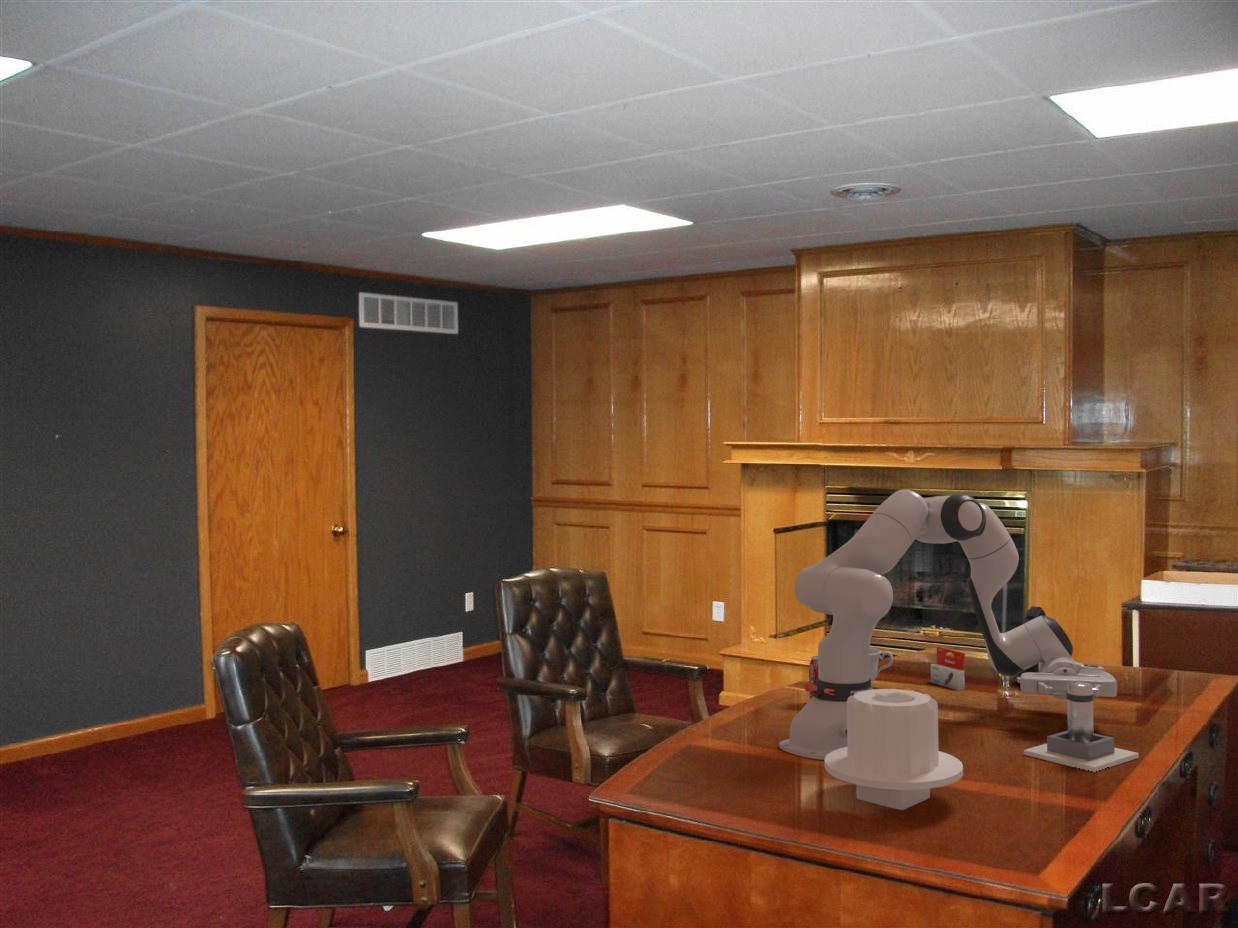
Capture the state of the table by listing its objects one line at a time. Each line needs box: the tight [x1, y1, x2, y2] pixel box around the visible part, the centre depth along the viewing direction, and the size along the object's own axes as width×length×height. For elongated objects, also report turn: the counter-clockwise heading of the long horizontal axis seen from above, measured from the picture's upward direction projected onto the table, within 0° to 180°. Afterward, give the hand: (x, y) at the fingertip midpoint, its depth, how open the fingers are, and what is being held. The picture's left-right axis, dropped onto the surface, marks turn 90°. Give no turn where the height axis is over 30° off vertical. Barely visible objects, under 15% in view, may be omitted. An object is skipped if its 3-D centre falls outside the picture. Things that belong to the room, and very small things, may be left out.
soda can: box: [808, 655, 818, 701], centre depth 279 cm, size 7×7×12 cm
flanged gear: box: [824, 688, 964, 811], centre depth 205 cm, size 25×25×19 cm
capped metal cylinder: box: [1065, 682, 1095, 744], centre depth 230 cm, size 5×5×14 cm
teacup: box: [869, 646, 894, 683], centre depth 298 cm, size 12×15×10 cm
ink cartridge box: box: [930, 646, 966, 691], centre depth 298 cm, size 2×11×10 cm, turn 25°
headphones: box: [1016, 606, 1047, 684], centre depth 304 cm, size 22×6×20 cm, turn 148°
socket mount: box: [1023, 730, 1140, 773], centre depth 230 cm, size 16×16×4 cm
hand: (1071, 692), depth 241 cm, fingers open, 8 cm apart
